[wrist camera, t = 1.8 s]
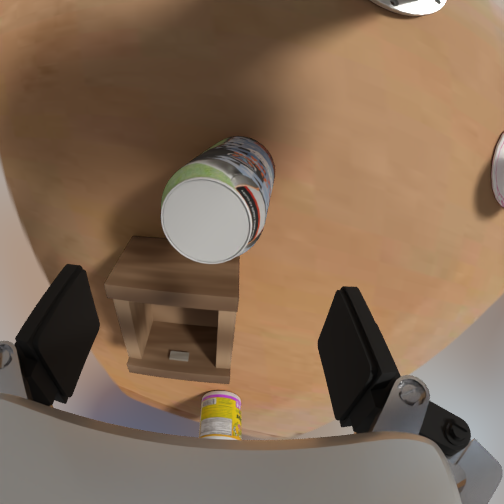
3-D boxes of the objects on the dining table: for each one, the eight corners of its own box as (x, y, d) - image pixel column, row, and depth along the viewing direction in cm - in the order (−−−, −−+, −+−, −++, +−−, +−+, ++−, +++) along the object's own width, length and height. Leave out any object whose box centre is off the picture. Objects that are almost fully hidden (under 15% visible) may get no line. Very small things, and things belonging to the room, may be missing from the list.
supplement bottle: (237, 408, 47) (237, 472, 36) (200, 404, 46) (195, 468, 35) (244, 391, 43) (245, 462, 32) (203, 386, 42) (198, 458, 32)
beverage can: (273, 198, 26) (291, 277, 16) (193, 201, 26) (162, 281, 16) (273, 130, 23) (297, 167, 13) (186, 134, 23) (141, 174, 13)
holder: (132, 235, 28) (104, 284, 21) (239, 244, 29) (238, 297, 22) (145, 321, 34) (129, 372, 28) (230, 330, 35) (229, 384, 29)
